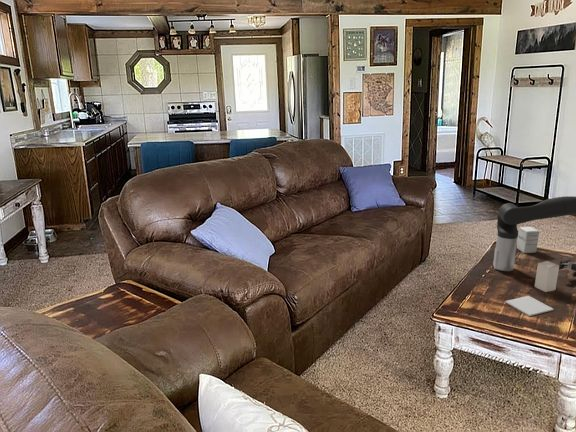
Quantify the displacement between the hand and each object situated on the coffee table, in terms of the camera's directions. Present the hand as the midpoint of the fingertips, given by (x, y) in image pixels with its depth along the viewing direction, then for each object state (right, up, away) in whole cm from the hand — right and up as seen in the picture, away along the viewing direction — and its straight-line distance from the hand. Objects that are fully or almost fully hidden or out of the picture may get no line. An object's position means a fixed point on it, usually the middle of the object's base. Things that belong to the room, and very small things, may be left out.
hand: (565, 271), depth 215 cm
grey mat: (-26, -13, -17) cm, 33 cm away
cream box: (-10, -8, -1) cm, 13 cm away
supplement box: (+4, +6, +42) cm, 43 cm away
